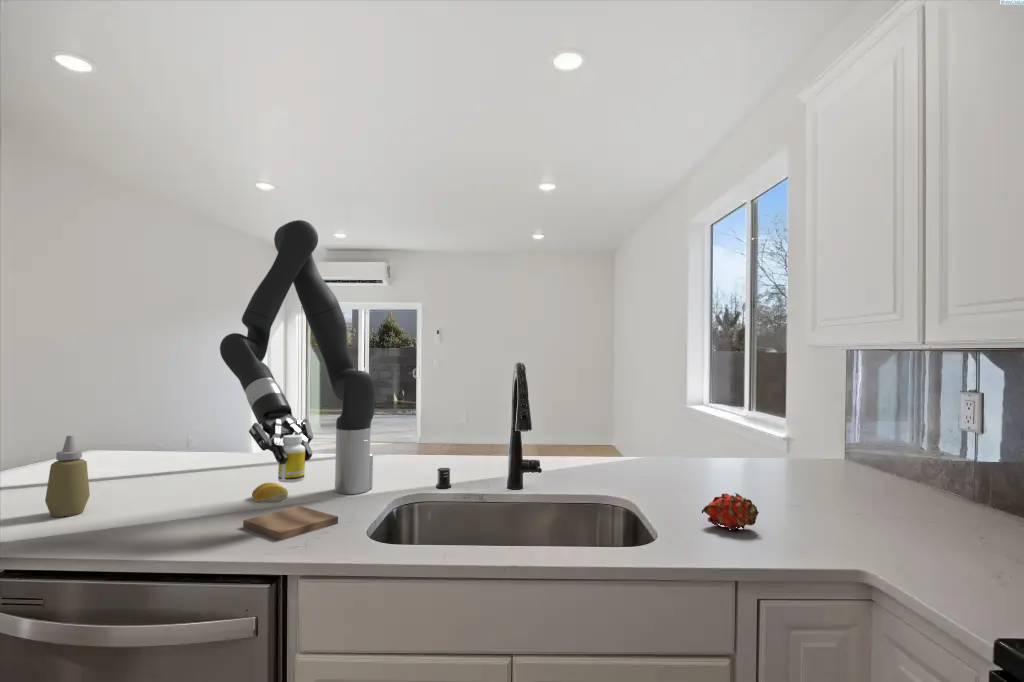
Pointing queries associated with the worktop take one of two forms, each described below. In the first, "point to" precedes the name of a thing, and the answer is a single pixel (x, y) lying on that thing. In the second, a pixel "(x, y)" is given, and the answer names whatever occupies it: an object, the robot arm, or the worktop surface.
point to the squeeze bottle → (67, 482)
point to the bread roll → (269, 493)
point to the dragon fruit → (731, 511)
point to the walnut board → (290, 522)
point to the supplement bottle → (292, 460)
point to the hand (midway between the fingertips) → (296, 459)
